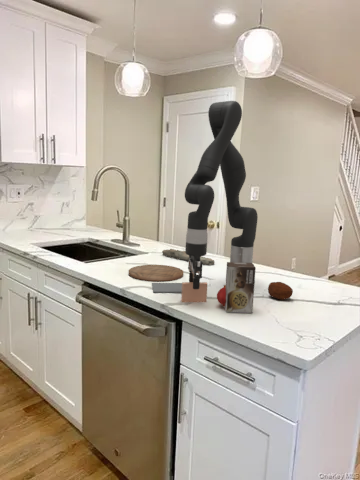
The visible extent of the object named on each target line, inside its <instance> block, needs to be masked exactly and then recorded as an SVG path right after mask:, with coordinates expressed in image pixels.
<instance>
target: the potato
mask: <svg viewBox="0 0 360 480" xmlns="http://www.w3.org/2000/svg"><path fill="white" fill-rule="evenodd" d="M293 292H294V291H293V288H292V287H291V286H290V285H288V284H286V283H284V282H282V281H272V282H270V283H269V284H268V287H267V293H268V295H269V296H270V297H272V298H274V299H277V300H280V301H283V300H288V299H290V298H291V297H292V296H293V294H294V293H293Z"/></svg>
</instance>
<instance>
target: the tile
mask: <svg viewBox="0 0 360 480" xmlns="http://www.w3.org/2000/svg"><path fill="white" fill-rule="evenodd" d="M181 283H182V293H181V297H180V300H181V303H207V302H208V301H207V300H208V299H207V298H208V283H207V282H205V281H204V282H203V281H202V282H201V281H200V285H199V289H193V282H189V281H187V282H185V281H184V282H183V281H182V282H181Z"/></svg>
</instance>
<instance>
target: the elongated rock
mask: <svg viewBox="0 0 360 480" xmlns="http://www.w3.org/2000/svg"><path fill="white" fill-rule="evenodd" d="M161 253H162V255H163V256H166V257H167V258H172V259H175V260H180V261H183V260H184V261H187V262H189V255H187V254H186V253H185V250H180V249H177V250H176V249H174V248H170V249H163V250H162V252H161ZM200 261H202V262H203V264H202V265H205V266H214V265H215V260H214V259H212V258H210V257H205V256H201V257H200Z"/></svg>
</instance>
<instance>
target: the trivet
mask: <svg viewBox="0 0 360 480" xmlns="http://www.w3.org/2000/svg"><path fill="white" fill-rule="evenodd" d="M128 276H129V277H130V278H132V279H133V280H138V281H142V282H150V283H169V282H174V281H177V280H180V279H182V278H183V277H184V270H183V269H181V268H179V267H176V266H173V265H165V264H142V265H137V266H133V267H131V268H129V269H128Z"/></svg>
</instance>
